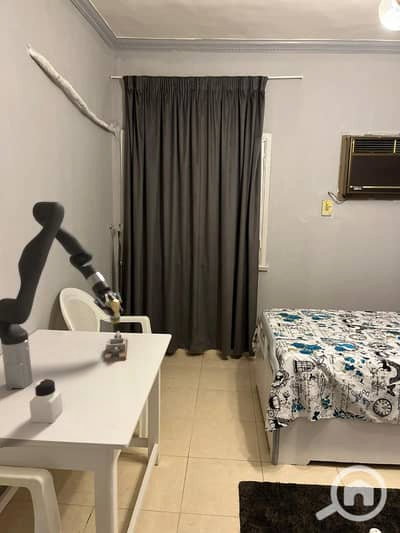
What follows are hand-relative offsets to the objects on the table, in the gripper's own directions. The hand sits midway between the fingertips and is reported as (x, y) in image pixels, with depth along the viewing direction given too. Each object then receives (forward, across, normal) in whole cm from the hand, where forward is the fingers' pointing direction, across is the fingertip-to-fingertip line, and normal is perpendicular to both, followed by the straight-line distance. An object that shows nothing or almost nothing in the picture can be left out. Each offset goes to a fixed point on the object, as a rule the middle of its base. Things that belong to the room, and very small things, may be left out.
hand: (117, 314), depth 172 cm
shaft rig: (+11, 0, +14) cm, 18 cm away
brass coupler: (+2, 0, +4) cm, 5 cm away
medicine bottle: (+28, -50, -2) cm, 58 cm away
